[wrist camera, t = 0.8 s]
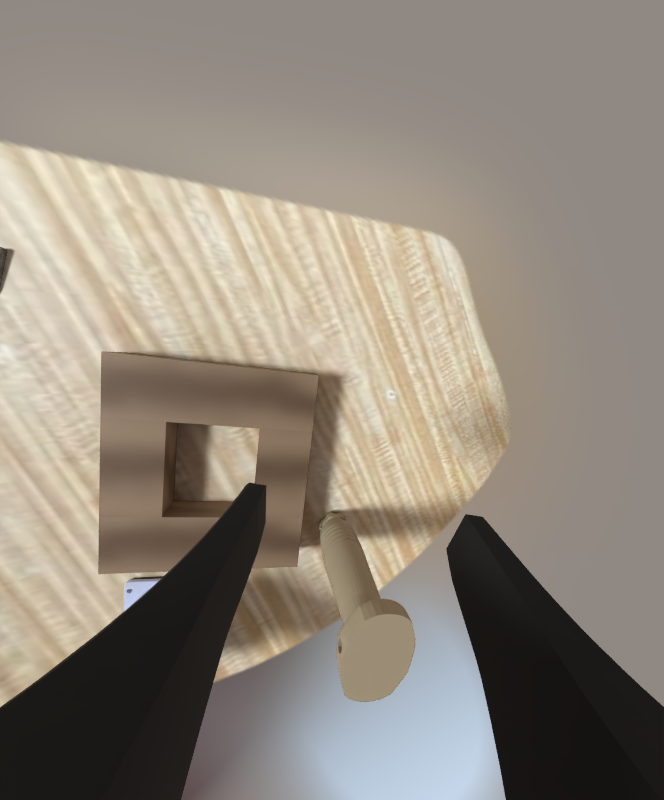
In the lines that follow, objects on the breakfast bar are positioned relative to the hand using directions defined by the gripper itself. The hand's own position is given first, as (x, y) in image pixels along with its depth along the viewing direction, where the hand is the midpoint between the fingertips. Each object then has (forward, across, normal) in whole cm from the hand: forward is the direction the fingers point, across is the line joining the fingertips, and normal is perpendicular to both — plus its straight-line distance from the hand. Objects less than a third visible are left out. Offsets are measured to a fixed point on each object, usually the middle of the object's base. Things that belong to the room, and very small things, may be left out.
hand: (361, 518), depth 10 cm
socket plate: (+14, +12, +12) cm, 23 cm away
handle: (+15, -1, +20) cm, 25 cm away
